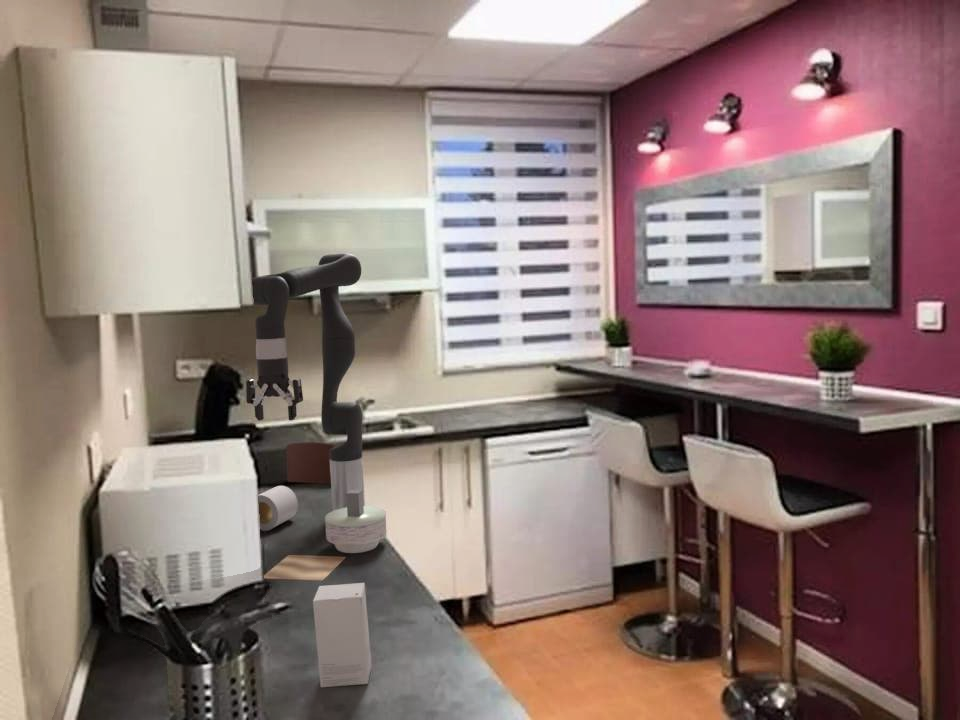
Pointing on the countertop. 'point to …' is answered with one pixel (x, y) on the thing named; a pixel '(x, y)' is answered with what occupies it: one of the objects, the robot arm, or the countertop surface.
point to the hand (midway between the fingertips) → (276, 420)
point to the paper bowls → (356, 537)
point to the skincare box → (342, 635)
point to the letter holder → (309, 462)
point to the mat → (304, 567)
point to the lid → (355, 512)
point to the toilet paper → (276, 506)
